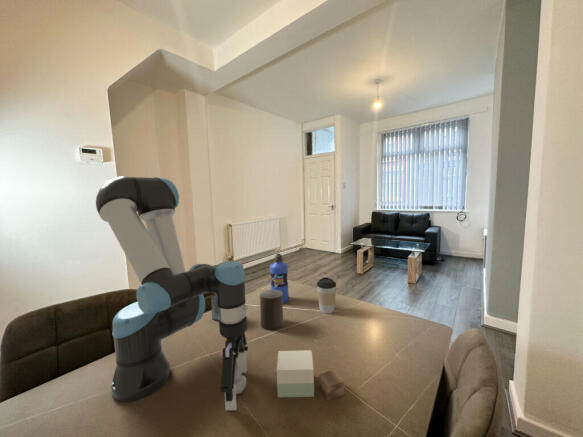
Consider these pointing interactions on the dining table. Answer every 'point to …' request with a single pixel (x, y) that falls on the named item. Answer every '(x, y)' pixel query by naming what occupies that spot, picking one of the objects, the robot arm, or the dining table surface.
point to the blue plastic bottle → (279, 277)
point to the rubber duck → (239, 381)
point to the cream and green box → (295, 374)
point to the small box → (214, 308)
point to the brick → (331, 384)
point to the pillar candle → (271, 309)
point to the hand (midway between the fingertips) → (237, 388)
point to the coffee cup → (326, 294)
